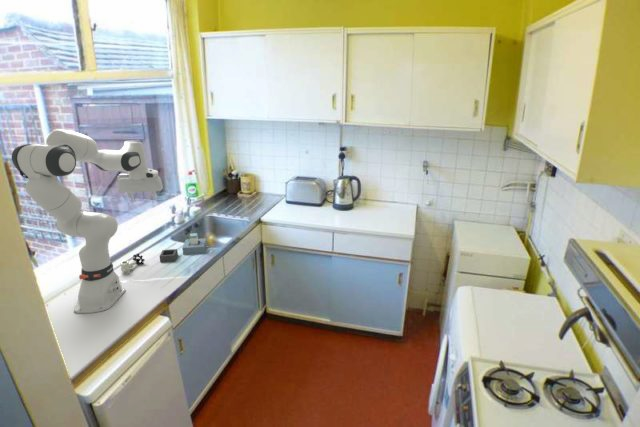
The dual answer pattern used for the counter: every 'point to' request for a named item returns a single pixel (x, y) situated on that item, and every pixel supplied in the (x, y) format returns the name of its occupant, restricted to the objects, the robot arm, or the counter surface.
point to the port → (194, 247)
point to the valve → (131, 264)
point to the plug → (194, 239)
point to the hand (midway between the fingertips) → (143, 200)
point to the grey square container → (168, 255)
